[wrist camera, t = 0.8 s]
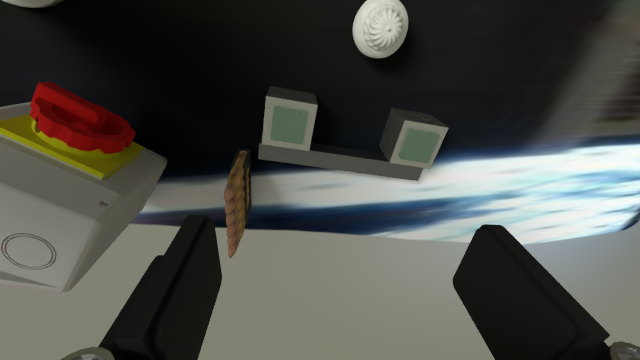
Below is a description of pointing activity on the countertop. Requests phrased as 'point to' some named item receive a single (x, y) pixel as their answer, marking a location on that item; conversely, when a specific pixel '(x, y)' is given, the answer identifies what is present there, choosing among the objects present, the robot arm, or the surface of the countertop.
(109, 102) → the countertop surface
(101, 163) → the electrical switch box
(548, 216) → the countertop surface
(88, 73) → the countertop surface
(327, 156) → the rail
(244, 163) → the ammunition clip
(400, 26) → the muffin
